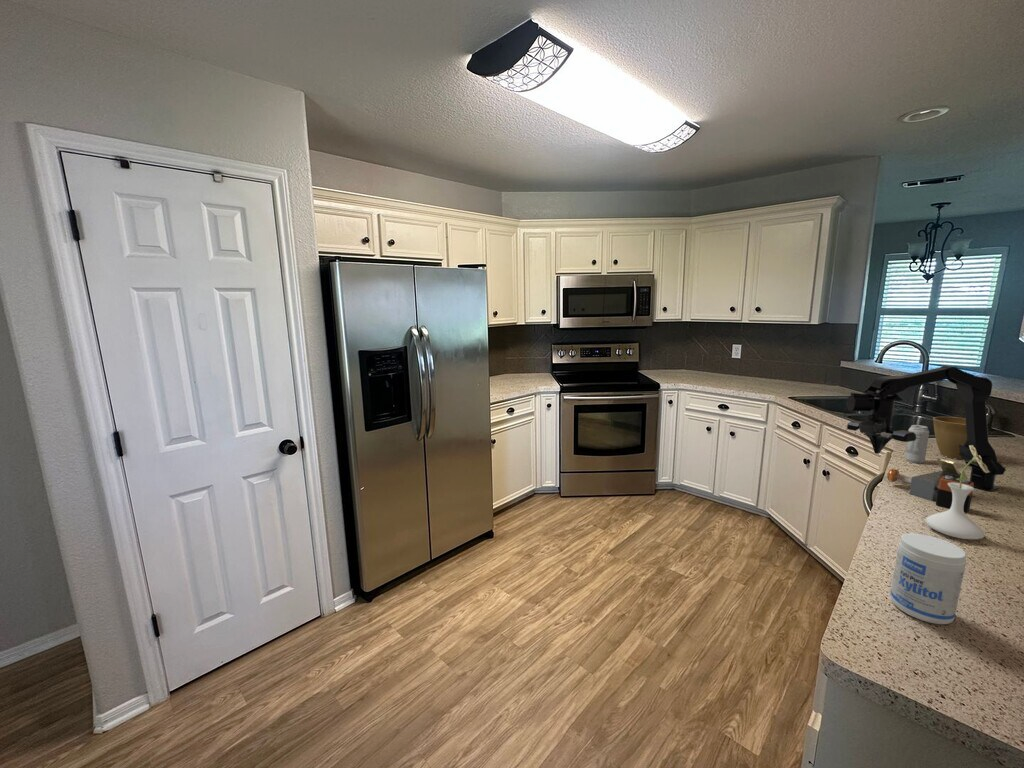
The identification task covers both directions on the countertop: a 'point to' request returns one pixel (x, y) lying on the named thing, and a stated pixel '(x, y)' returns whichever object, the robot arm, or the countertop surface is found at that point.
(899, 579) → the supplement tub
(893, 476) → the pin
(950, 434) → the plant pot
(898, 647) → the countertop surface
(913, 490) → the drawbar block
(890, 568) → the countertop surface
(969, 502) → the battery
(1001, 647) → the countertop surface
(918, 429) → the energy drink can
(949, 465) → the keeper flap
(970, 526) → the flower in vase
